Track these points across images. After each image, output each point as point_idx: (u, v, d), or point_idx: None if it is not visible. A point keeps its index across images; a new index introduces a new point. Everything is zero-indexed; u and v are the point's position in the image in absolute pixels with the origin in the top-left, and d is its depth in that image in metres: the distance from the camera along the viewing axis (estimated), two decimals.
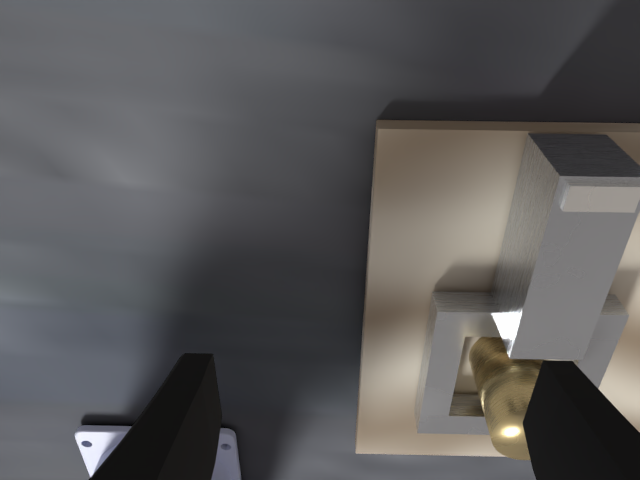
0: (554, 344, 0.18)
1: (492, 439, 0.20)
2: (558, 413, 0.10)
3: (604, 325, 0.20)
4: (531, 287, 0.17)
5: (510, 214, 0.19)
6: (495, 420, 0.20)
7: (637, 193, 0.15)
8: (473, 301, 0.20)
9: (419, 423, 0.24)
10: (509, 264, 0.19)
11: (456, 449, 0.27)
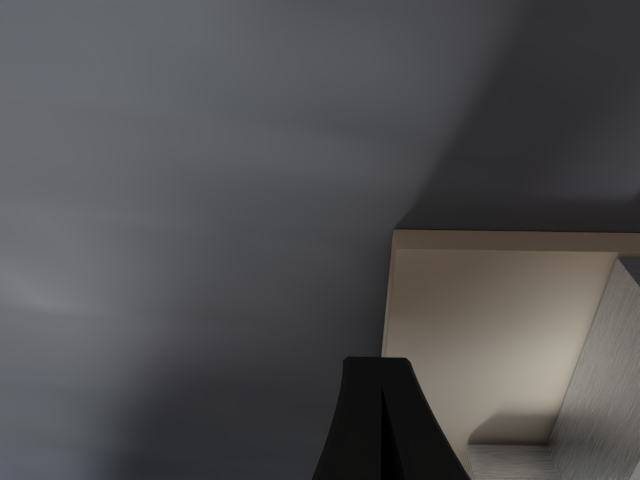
0: None
1: None
2: None
3: None
4: None
5: (581, 358, 0.13)
6: None
7: None
8: (524, 463, 0.15)
9: None
10: (581, 430, 0.13)
11: None
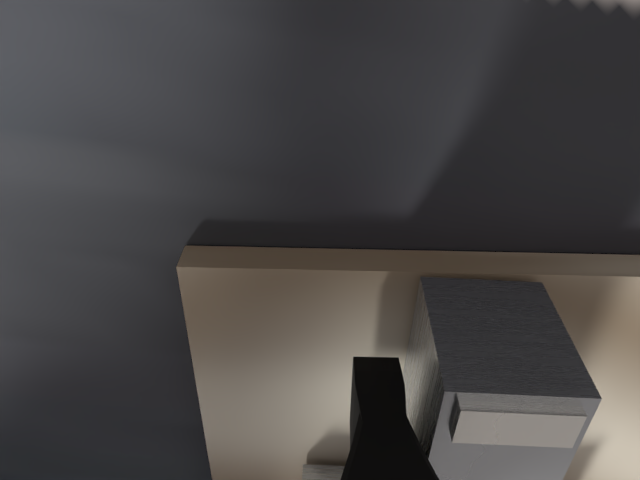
0: None
1: None
2: (354, 409, 0.11)
3: None
4: None
5: None
6: None
7: (575, 424, 0.09)
8: None
9: None
10: None
11: None
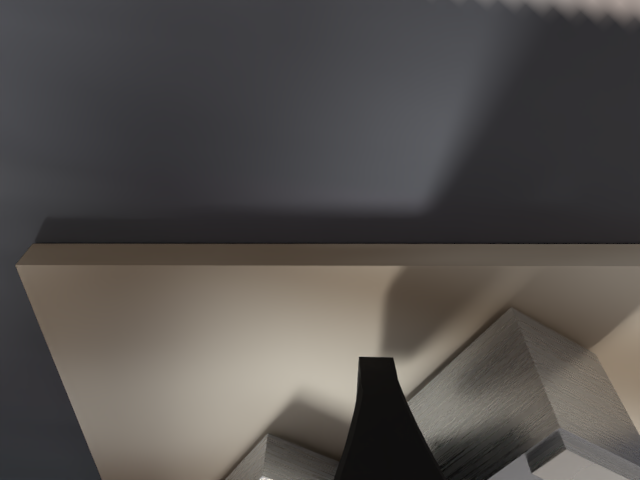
0: None
1: None
2: None
3: None
4: None
5: (424, 390, 0.13)
6: None
7: None
8: (315, 472, 0.14)
9: None
10: None
11: None
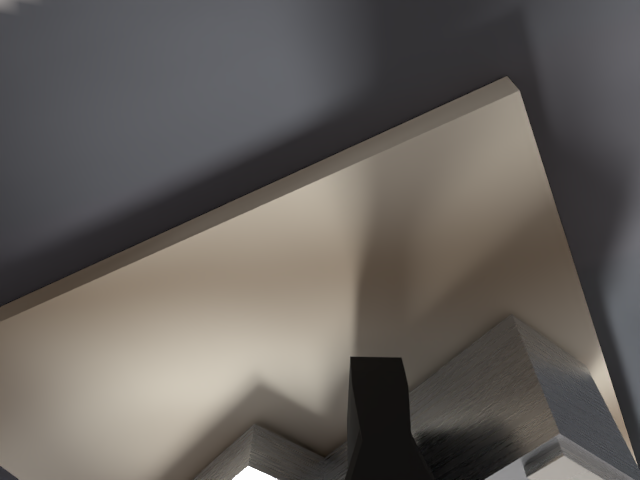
0: None
1: None
2: (351, 409, 0.11)
3: None
4: None
5: (416, 391, 0.13)
6: None
7: None
8: (299, 465, 0.14)
9: None
10: None
11: None
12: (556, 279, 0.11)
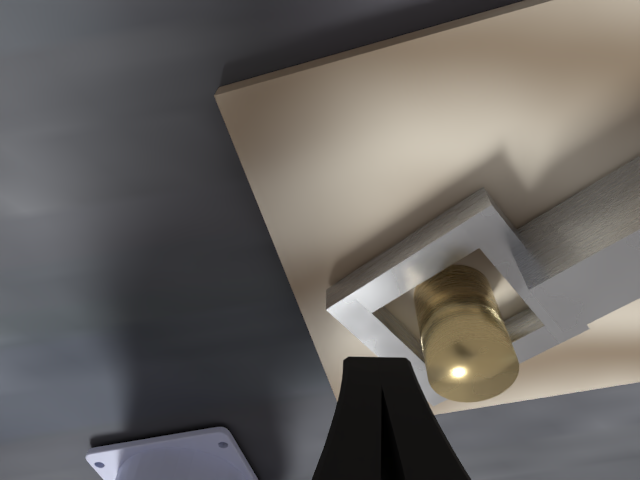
0: (570, 304, 0.17)
1: (431, 386, 0.19)
2: (380, 409, 0.11)
3: None
4: (625, 238, 0.16)
5: (613, 173, 0.18)
6: (427, 365, 0.18)
7: None
8: (510, 223, 0.19)
9: (339, 301, 0.20)
10: (583, 212, 0.18)
11: (448, 405, 0.25)
12: None
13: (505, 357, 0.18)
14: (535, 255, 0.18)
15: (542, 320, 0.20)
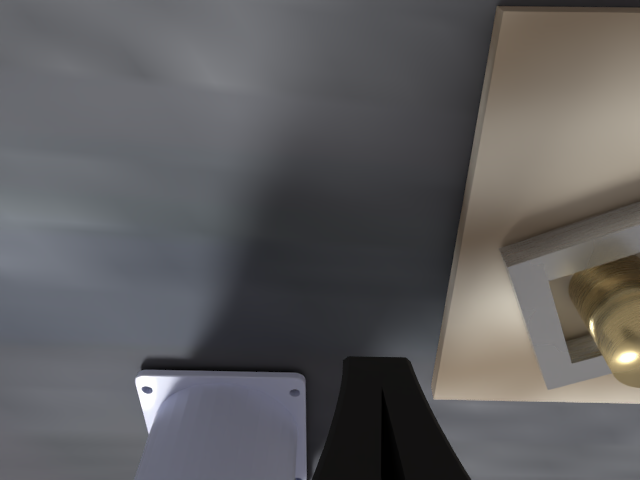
0: None
1: (612, 363, 0.18)
2: None
3: None
4: None
5: None
6: (617, 341, 0.18)
7: None
8: None
9: (525, 261, 0.19)
10: None
11: (541, 394, 0.25)
12: None
13: None
14: None
15: None
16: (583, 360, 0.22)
